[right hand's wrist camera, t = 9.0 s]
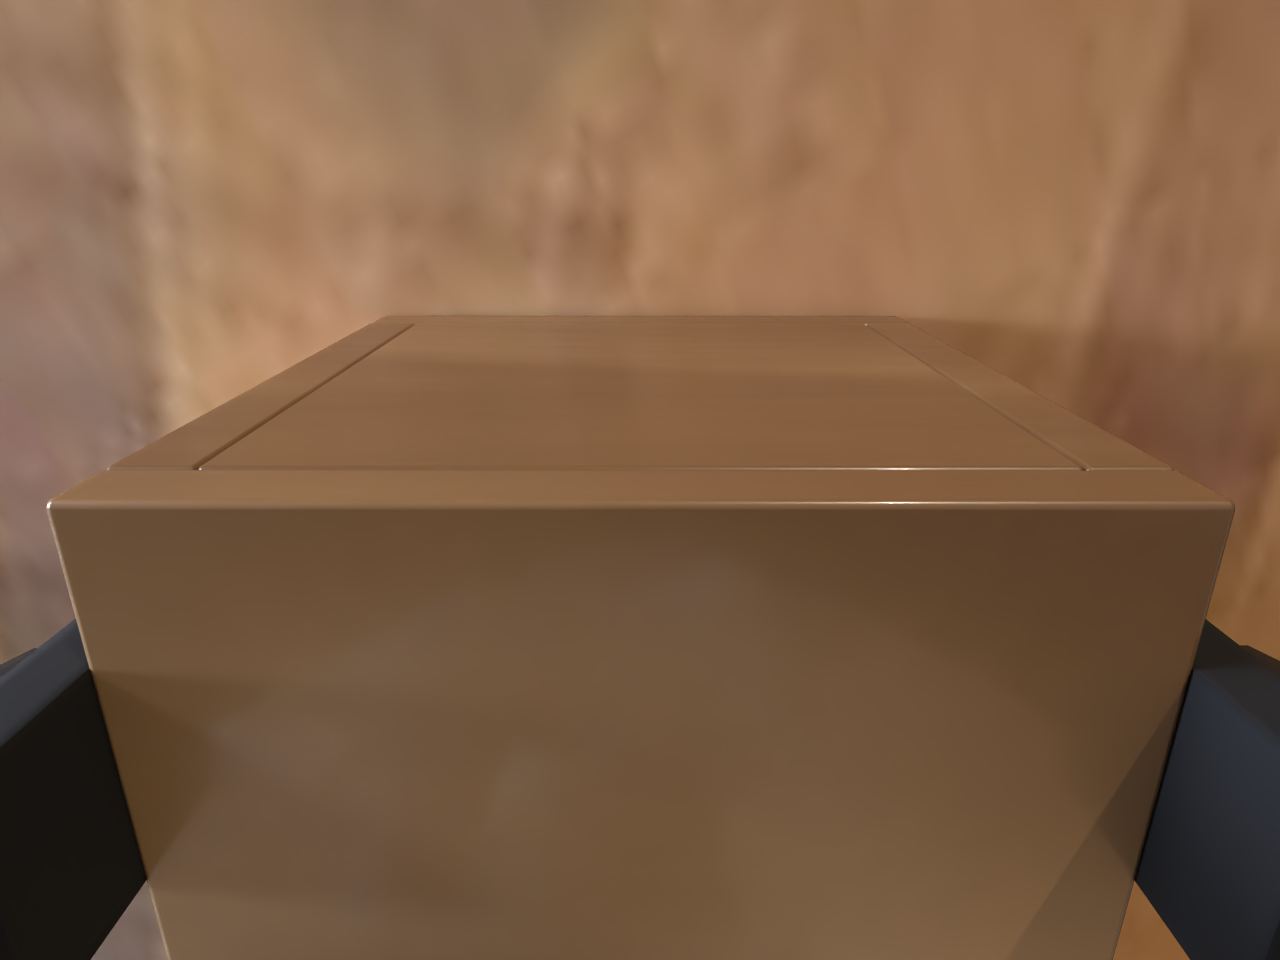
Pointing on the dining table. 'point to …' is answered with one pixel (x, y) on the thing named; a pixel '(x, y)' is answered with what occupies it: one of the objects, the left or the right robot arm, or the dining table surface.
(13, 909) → the right robot arm
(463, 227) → the dining table surface
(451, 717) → the cabinet
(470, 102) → the dining table surface
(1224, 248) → the dining table surface
